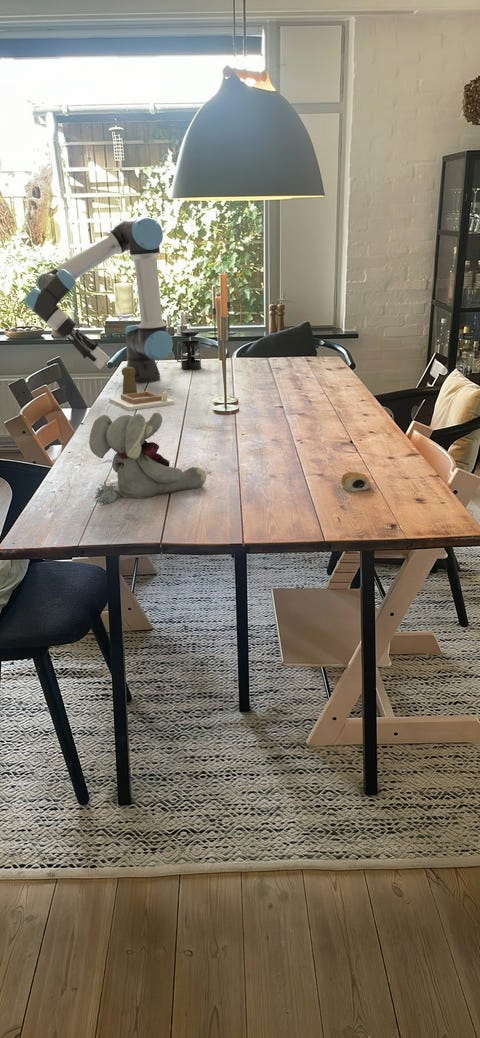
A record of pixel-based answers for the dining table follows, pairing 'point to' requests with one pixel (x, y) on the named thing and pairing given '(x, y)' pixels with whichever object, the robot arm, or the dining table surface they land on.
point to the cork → (129, 380)
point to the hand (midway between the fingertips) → (105, 363)
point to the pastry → (355, 481)
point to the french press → (189, 349)
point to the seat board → (141, 400)
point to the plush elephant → (138, 459)
